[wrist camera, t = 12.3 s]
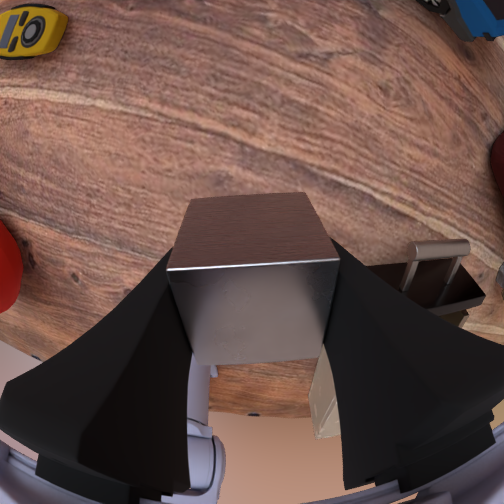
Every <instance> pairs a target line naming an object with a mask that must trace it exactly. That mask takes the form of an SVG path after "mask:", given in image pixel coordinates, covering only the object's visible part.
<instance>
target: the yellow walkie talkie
mask: <svg viewBox="0 0 504 504" xmlns="http://www.w3.org/2000/svg"><path fill="white" fill-rule="evenodd" d="M54 9H55V8H54V7H51V6H48V5H43V4H23V5H19V6H16V7H13V8H11V10H9V11H7V12H5V13H3V14H1V15H0V58H1V59H5V60H23V59H30V58H34V57H35V56H36V55H42V54H46V53H50V52H52V51H54V50H55V49H56V48H57V46H58V44H59V42H60V40H61V38H62V36H63V33H64V31H65V29H66V26H67V23H68V17H67V16H66V15H65V14H63V13H61V12H59V11H56V10H54Z"/></svg>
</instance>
